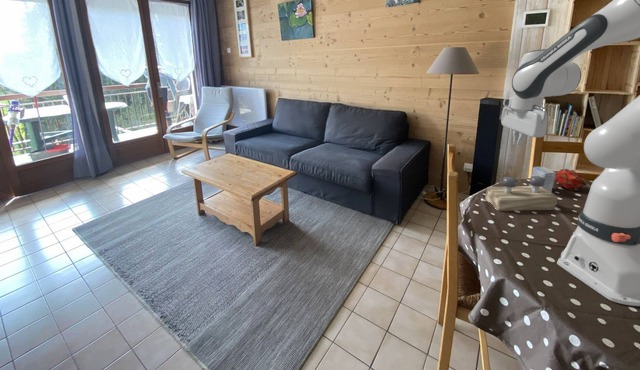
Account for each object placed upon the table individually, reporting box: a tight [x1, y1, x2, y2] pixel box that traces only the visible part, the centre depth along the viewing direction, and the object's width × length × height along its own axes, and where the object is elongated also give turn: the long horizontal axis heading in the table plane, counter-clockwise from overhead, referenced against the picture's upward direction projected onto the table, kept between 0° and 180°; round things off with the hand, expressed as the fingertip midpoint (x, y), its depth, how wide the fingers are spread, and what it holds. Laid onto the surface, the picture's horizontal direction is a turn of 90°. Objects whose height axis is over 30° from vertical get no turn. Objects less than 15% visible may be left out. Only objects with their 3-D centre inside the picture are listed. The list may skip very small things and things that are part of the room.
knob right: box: [529, 176, 546, 193], centre depth 116 cm, size 4×4×7 cm
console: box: [484, 185, 559, 212], centre depth 118 cm, size 10×20×5 cm, turn 90°
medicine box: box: [528, 166, 557, 193], centre depth 129 cm, size 8×4×9 cm, turn 179°
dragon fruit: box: [554, 168, 588, 192], centre depth 130 cm, size 8×8×12 cm
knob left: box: [501, 176, 518, 193], centre depth 117 cm, size 4×4×7 cm
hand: (517, 144), depth 110 cm, fingers closed
